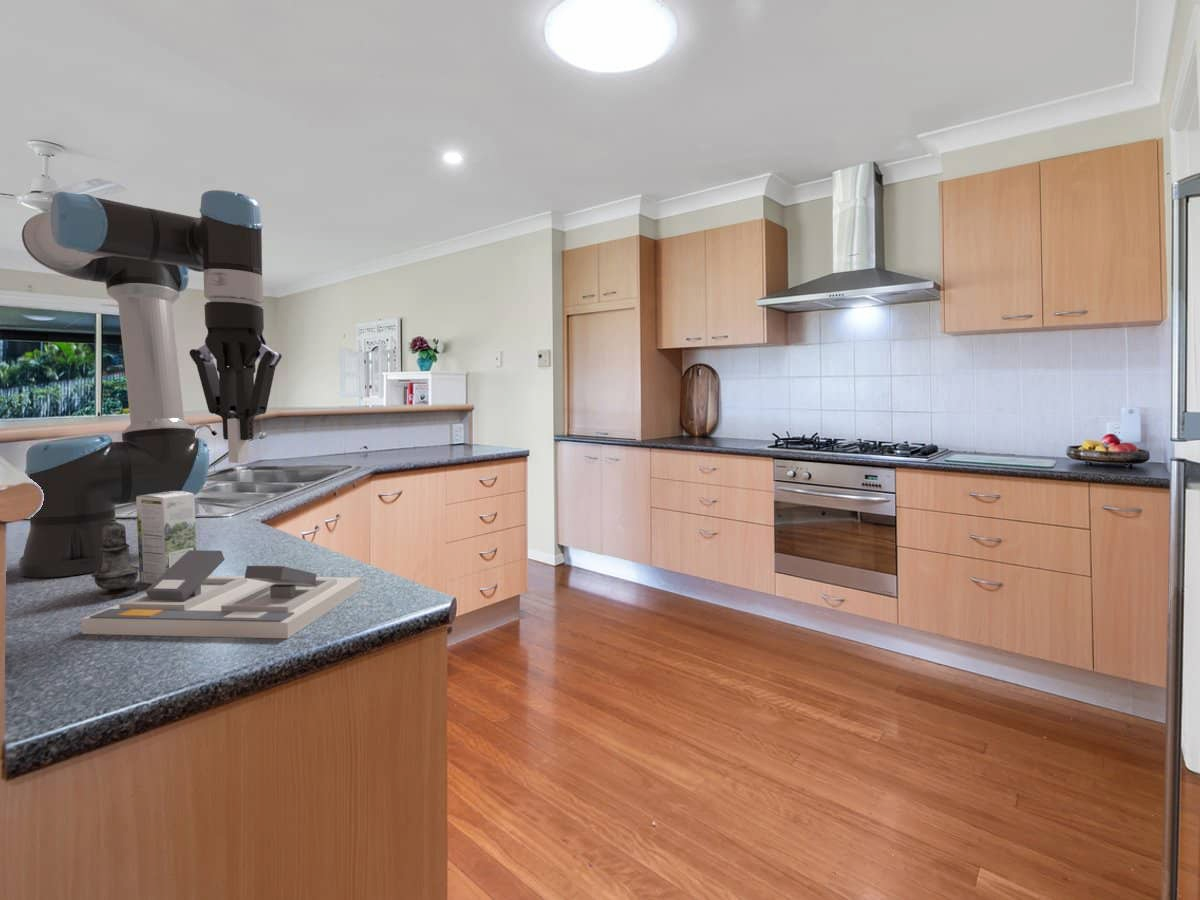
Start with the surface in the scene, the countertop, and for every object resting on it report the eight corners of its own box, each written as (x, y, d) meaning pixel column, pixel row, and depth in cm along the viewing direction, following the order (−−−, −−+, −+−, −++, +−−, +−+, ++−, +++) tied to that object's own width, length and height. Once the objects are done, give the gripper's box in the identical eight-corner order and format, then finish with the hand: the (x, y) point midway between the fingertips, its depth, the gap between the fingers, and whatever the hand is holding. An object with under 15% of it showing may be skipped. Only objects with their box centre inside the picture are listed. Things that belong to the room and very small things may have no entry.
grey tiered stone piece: (114, 601, 91) (109, 521, 90) (82, 599, 93) (77, 519, 92) (151, 589, 97) (146, 514, 96) (120, 587, 98) (115, 513, 97)
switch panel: (195, 587, 98) (194, 565, 98) (360, 590, 96) (360, 567, 96) (82, 633, 78) (80, 606, 78) (288, 638, 76) (286, 610, 76)
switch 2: (281, 584, 91) (283, 572, 91) (314, 584, 90) (316, 573, 91) (244, 578, 82) (247, 565, 83) (280, 578, 82) (283, 565, 82)
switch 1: (192, 559, 92) (188, 549, 91) (224, 559, 92) (221, 550, 91) (149, 599, 84) (145, 590, 83) (184, 600, 84) (180, 590, 83)
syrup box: (171, 574, 106) (167, 490, 105) (199, 576, 105) (194, 491, 104) (139, 583, 101) (134, 495, 100) (167, 586, 99) (162, 496, 98)
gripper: (173, 298, 88) (179, 463, 90) (261, 300, 87) (266, 466, 90) (209, 305, 96) (214, 457, 98) (291, 307, 95) (294, 460, 97)
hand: (239, 461), depth 94 cm, fingers closed
